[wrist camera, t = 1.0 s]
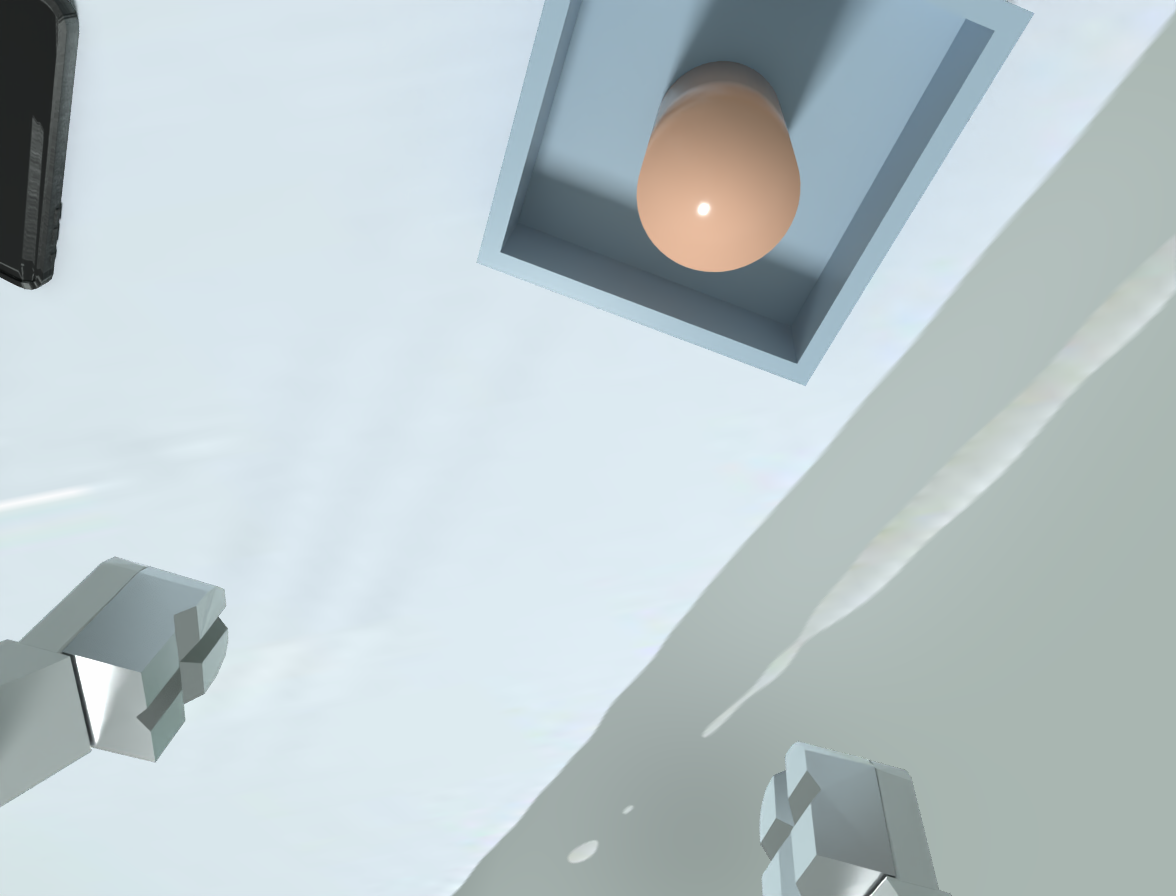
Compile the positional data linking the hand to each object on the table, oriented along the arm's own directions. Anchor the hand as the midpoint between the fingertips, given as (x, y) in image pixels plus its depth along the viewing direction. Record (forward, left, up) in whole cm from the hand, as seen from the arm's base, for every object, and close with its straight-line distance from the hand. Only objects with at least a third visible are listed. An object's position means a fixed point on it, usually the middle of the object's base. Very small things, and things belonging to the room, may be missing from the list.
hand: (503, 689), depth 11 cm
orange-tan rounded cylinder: (0, +3, -26) cm, 26 cm away
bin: (0, +3, -26) cm, 26 cm away
